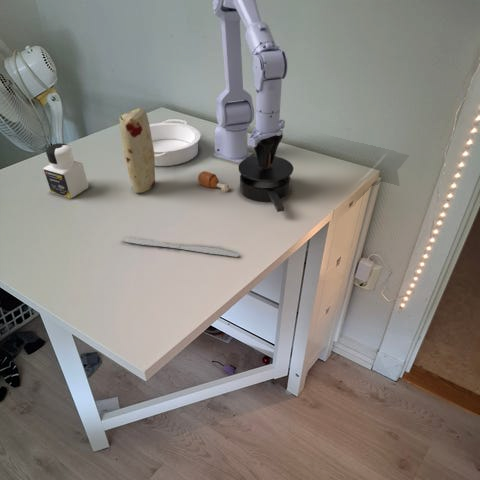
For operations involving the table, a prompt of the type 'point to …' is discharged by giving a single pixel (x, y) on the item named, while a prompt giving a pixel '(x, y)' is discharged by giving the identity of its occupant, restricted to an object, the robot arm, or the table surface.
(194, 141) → the pot
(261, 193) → the pan
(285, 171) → the pan lid
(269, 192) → the pan handle
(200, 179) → the drumstick
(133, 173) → the food model
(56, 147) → the medicine bottle
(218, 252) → the butter knife
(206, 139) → the table surface
